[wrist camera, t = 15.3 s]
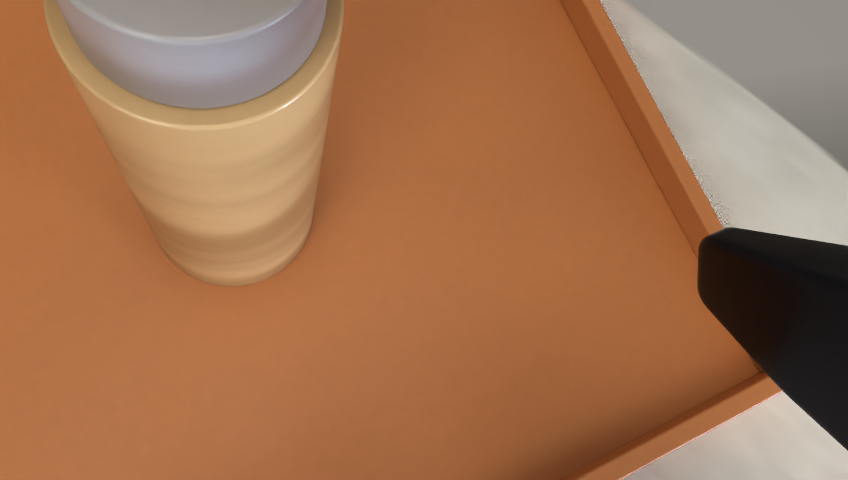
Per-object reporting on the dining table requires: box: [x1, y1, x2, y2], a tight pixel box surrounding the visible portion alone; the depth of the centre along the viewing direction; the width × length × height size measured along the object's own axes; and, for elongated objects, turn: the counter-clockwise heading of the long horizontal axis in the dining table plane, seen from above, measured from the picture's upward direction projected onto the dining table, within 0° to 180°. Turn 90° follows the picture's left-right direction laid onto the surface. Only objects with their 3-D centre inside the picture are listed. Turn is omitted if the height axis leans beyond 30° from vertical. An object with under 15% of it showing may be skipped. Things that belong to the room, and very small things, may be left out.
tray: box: [0, 0, 783, 480], centre depth 22 cm, size 23×27×2 cm
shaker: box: [44, 0, 344, 287], centre depth 16 cm, size 5×5×13 cm
